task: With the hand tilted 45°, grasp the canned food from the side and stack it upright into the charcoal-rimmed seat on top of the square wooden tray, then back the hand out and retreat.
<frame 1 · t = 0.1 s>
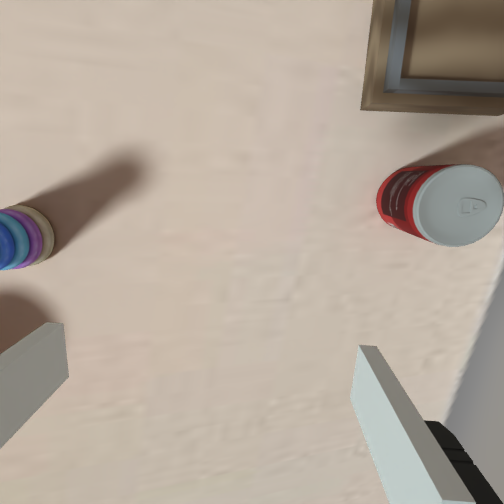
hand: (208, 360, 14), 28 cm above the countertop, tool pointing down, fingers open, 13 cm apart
canned food: (405, 198, 39), on the countertop
stacking toy: (29, 234, 42), on the countertop
square wooden tray: (441, 35, 35), on the countertop
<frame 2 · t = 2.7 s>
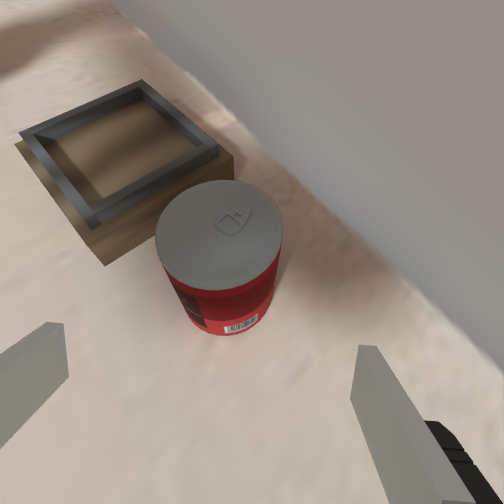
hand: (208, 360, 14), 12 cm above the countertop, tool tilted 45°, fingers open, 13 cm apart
canned food: (228, 296, 29), on the countertop
square wooden tray: (134, 177, 35), on the countertop
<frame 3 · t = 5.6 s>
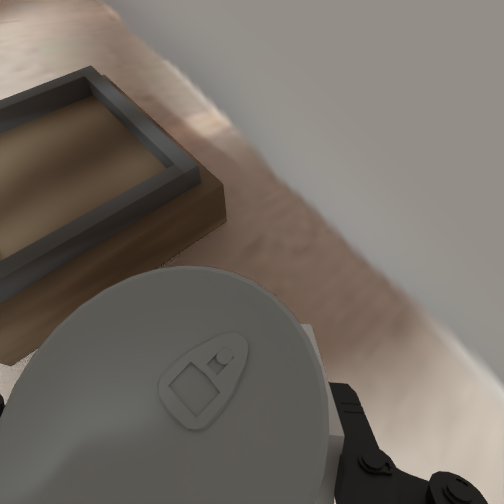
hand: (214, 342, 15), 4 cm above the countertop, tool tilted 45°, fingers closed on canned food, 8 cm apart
canned food: (212, 423, 17), on the countertop, touching gripper
square wooden tray: (79, 211, 24), on the countertop
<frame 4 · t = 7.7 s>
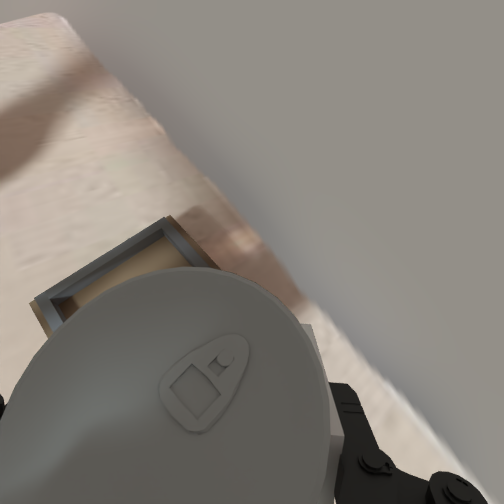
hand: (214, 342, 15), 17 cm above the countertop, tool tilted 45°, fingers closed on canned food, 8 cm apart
canned food: (212, 424, 17), point 13 cm above the countertop, touching gripper
square wooden tray: (157, 323, 33), on the countertop
when the fingers open (9 cm above the countertop, at t = 10.2 s): canned food drops 1 cm, resting on square wooden tray.
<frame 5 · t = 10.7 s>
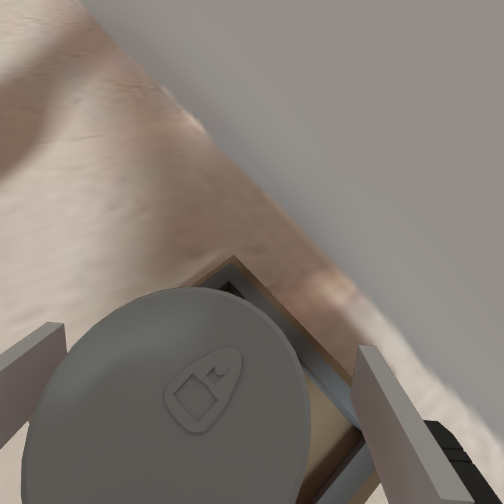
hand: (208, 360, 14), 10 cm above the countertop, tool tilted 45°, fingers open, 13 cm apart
canned food: (212, 424, 18), point 4 cm above the countertop, touching square wooden tray
square wooden tray: (219, 426, 21), on the countertop
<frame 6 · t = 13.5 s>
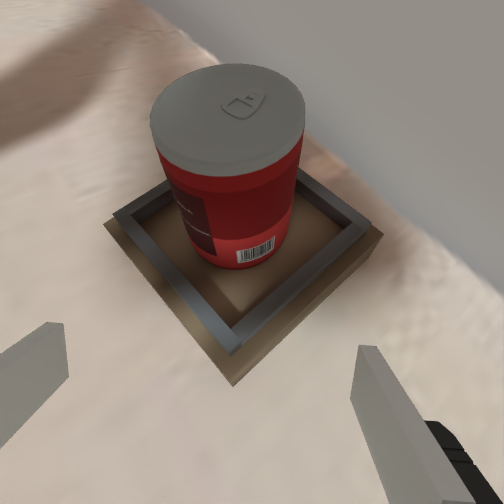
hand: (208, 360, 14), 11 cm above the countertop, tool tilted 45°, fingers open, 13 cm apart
canned food: (239, 230, 25), point 4 cm above the countertop, touching square wooden tray
square wooden tray: (243, 253, 29), on the countertop
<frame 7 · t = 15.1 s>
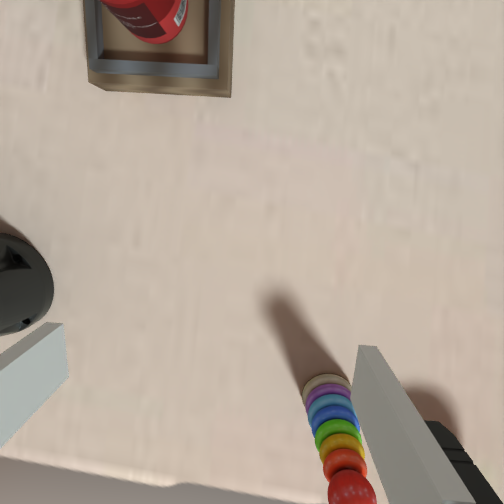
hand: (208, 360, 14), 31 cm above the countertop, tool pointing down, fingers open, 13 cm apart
canned food: (156, 6, 34), point 4 cm above the countertop, touching square wooden tray
stacking toy: (326, 391, 50), on the countertop
square wooden tray: (167, 21, 37), on the countertop
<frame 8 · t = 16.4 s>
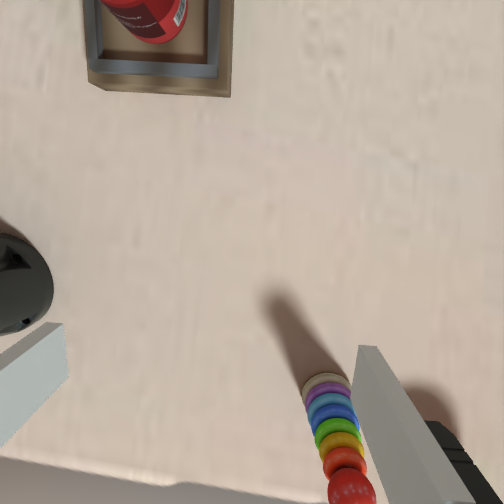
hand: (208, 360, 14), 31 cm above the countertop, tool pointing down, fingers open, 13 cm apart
canned food: (155, 6, 34), point 4 cm above the countertop, touching square wooden tray
stacking toy: (326, 390, 50), on the countertop
square wooden tray: (167, 21, 38), on the countertop
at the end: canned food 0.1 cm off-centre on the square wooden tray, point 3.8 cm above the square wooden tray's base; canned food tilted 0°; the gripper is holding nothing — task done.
